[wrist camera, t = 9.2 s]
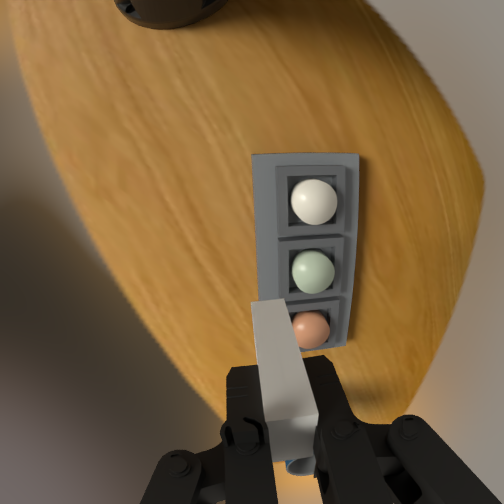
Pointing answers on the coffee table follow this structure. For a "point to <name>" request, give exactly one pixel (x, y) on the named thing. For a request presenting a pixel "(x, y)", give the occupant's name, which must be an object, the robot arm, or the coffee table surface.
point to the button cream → (313, 201)
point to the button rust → (310, 328)
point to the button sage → (312, 271)
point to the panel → (306, 234)
